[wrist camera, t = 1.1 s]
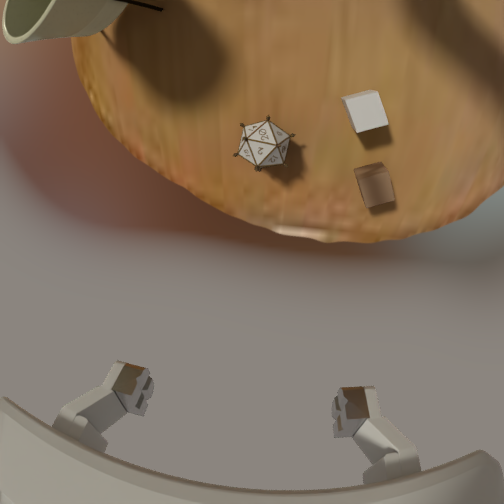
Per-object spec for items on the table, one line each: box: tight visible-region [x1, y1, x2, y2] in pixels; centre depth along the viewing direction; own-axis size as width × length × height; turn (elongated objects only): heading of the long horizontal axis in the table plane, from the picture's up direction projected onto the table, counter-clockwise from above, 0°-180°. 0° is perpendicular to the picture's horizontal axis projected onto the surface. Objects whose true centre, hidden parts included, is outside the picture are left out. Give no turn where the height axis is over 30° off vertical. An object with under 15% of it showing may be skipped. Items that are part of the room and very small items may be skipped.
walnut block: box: [354, 162, 395, 208], centre depth 39 cm, size 5×5×5 cm
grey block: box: [341, 90, 388, 133], centre depth 33 cm, size 5×5×5 cm
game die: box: [233, 115, 296, 172], centre depth 38 cm, size 9×8×10 cm
